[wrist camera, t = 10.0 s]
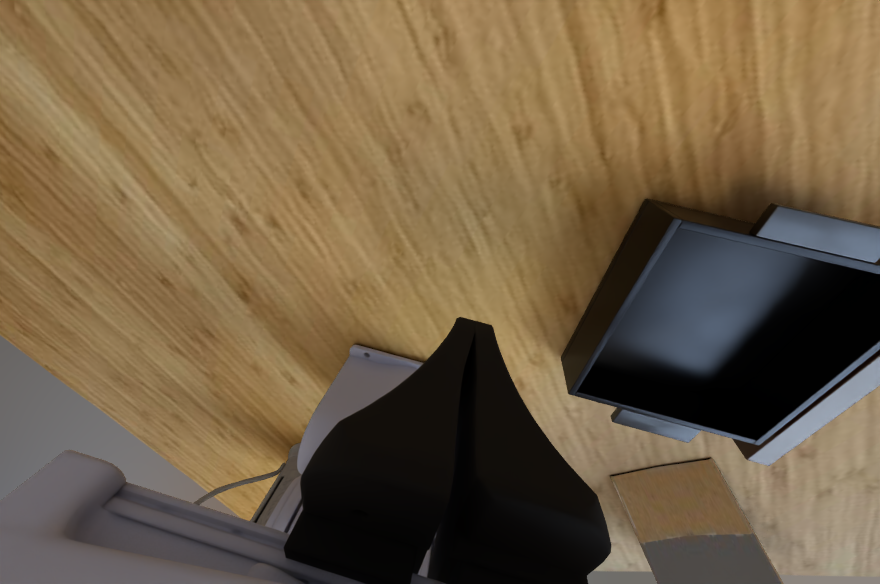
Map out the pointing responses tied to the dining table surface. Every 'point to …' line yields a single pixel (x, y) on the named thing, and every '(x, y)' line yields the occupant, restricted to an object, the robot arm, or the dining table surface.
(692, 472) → the sandwich container
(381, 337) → the dining table surface
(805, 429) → the back rail
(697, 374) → the roasting tin
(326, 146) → the dining table surface
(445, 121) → the dining table surface
